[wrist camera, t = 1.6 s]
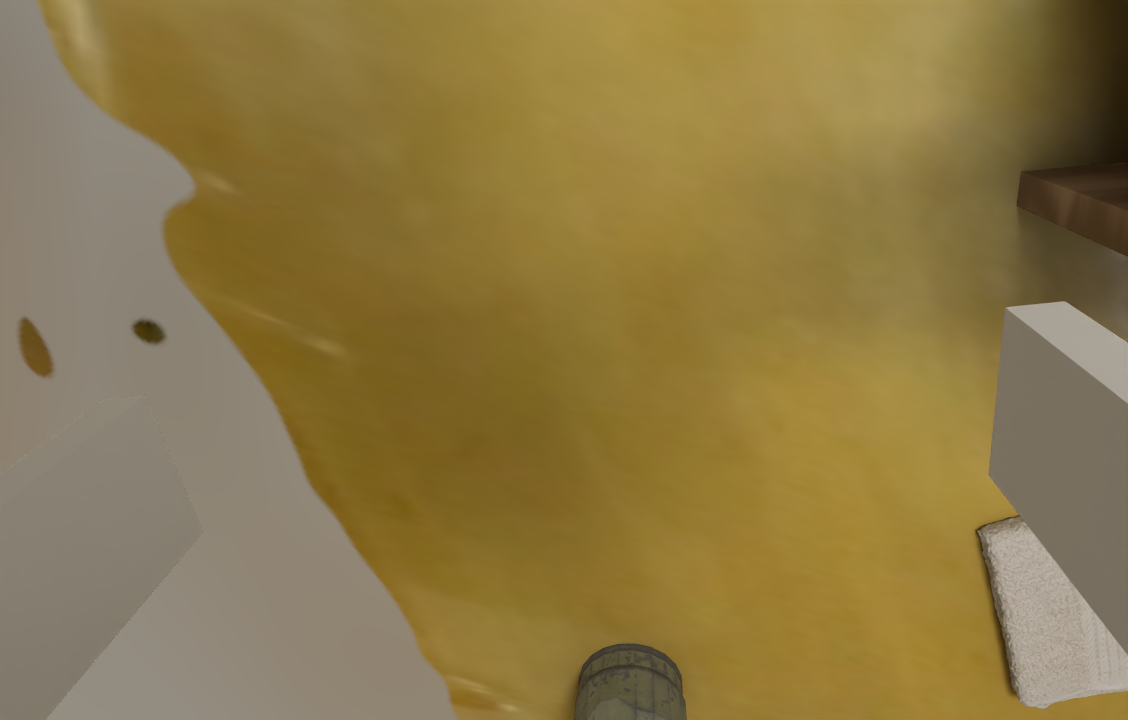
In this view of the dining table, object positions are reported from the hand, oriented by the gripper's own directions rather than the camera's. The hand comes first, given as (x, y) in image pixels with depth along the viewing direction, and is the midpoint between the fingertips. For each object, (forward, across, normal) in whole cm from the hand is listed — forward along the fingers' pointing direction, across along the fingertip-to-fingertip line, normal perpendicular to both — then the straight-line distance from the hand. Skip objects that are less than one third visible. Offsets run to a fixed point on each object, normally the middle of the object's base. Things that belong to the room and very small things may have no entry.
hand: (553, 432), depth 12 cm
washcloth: (+37, +30, -38) cm, 61 cm away
